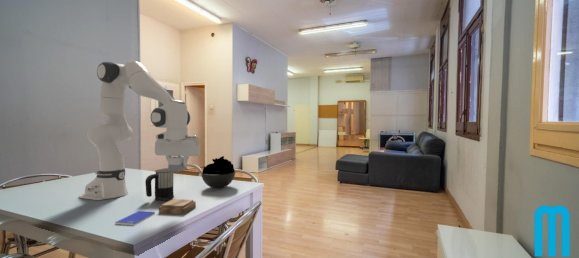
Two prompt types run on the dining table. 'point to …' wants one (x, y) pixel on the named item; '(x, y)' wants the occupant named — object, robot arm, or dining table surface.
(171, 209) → the walnut stand
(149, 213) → the hard drive
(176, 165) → the block
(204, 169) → the coal bowl
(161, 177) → the milk frother
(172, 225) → the dining table surface
